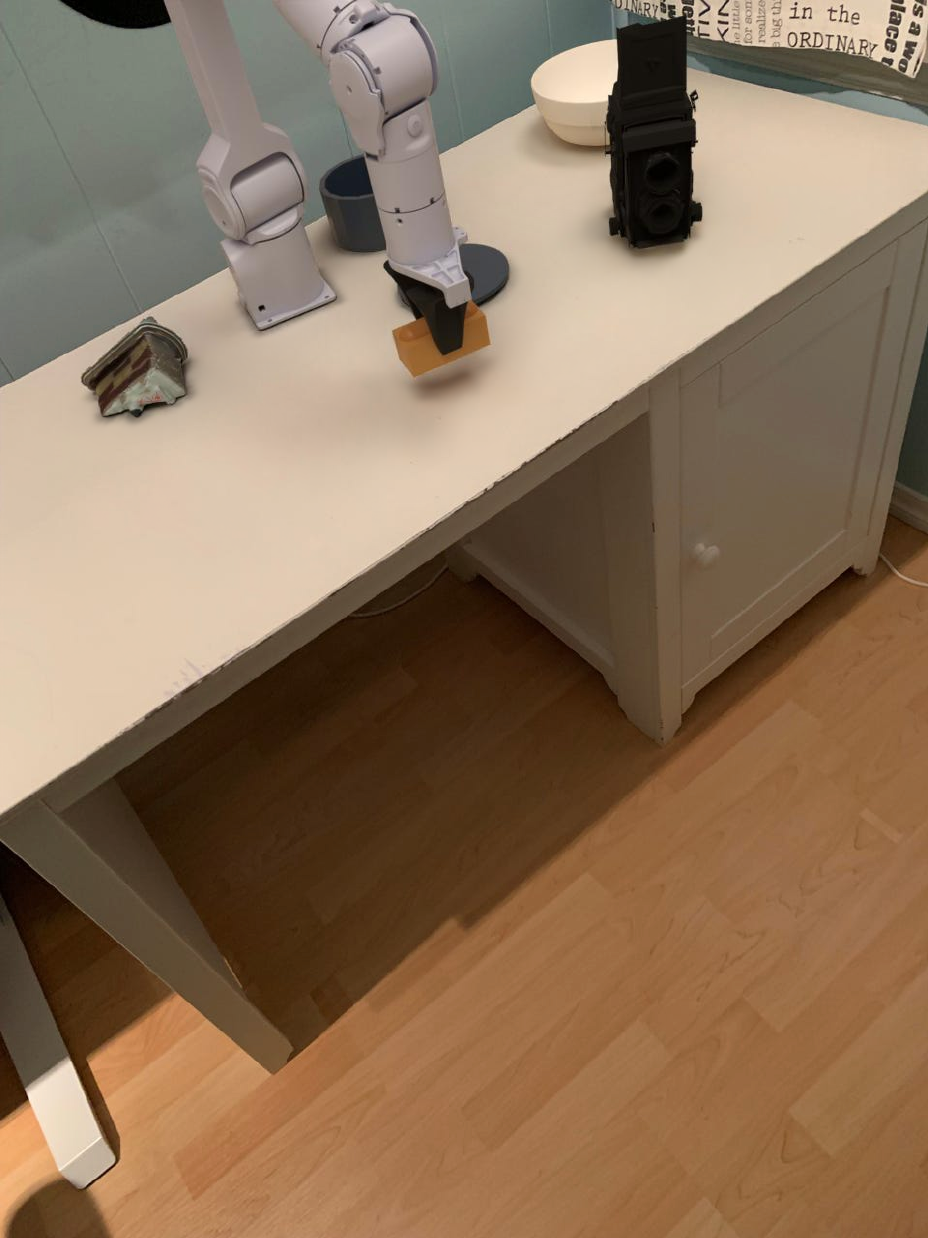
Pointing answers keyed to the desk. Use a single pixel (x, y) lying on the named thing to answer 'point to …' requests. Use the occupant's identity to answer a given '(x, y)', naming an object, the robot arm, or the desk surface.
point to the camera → (652, 136)
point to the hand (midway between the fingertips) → (442, 339)
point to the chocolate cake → (139, 370)
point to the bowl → (577, 91)
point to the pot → (352, 206)
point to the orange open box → (422, 350)
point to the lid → (482, 269)
